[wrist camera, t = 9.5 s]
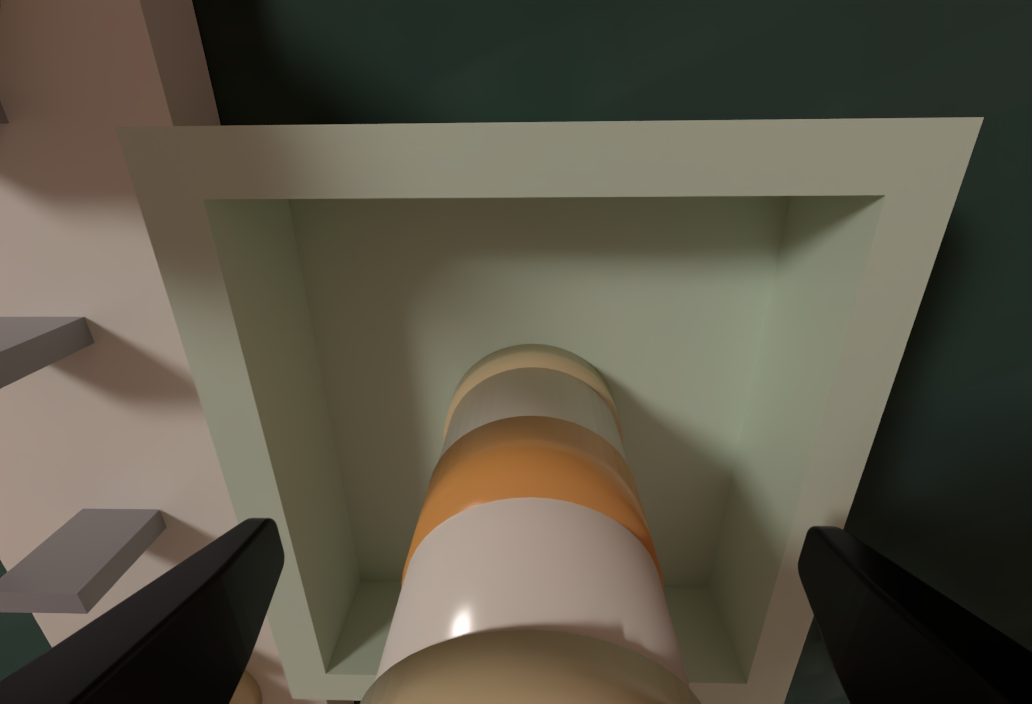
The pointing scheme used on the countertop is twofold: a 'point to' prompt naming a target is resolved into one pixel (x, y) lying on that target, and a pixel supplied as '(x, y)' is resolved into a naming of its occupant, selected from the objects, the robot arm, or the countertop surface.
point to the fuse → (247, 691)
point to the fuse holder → (97, 322)
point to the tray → (549, 339)
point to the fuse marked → (532, 553)
